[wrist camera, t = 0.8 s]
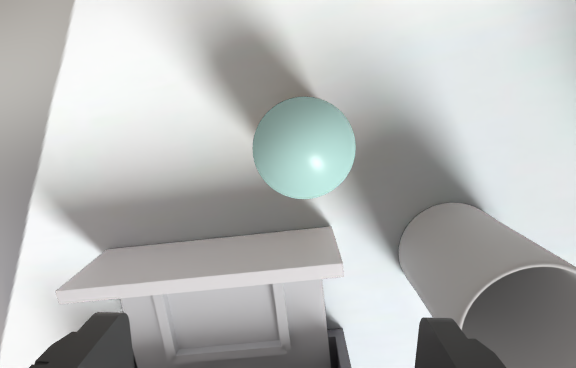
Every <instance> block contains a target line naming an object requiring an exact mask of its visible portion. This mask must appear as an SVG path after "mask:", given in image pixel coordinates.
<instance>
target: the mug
mask: <svg viewBox="0 0 576 368" xmlns="http://www.w3.org/2000/svg"><path fill="white" fill-rule="evenodd" d="M399 261H400V265H401V268H402V270H403V272H404V274H405V276H406V278H407V279H408V281H409V282H410V284H411V285H412V286H413V288H414V289H415V291H416V292H417V294H418V295H419V297H420V298H421V300H422V301H423V303H424V304H425V306H426V308H427V309H428V311H429V312H430V314H431V315H432V317H433V318H452V319H453V320H454V321H455V322H456V323H457V325H458V326H459V327H460V329H461V330H462V331H463V333H464V334H465V336H466V337H467V338H468V339H477V340H478V341H479V342H481V343H482V344H483V345H485V346H486V347H487V348H489V349H490V350H491V351H493V352H494V353H495V354H496V355H497V356H498V358H499V359H500V360H501V361H502V363H503V364H504V365H505V367H506V368H576V267H575V266H573V265H571V264H570V263H568V262H566V261H565V260H563V259H561V258H560V257H558V256H556V255H555V254H553V253H551V252H550V251H548V250H546V249H545V248H543V247H541V246H539V245H538V244H536V243H534V242H533V241H531V240H529V239H528V238H526V237H524V236H523V235H521V234H519V233H518V232H516V231H514V230H512V229H511V228H509V227H507V226H506V225H504V224H502V223H501V222H499V221H497V220H496V219H494V218H493V217H491V216H490V215H488V214H487V213H485V212H483V211H482V210H480V209H478V208H476V207H474V206H471V205H468V204H463V203H443V204H438V205H435V206H432V207H430V208H428V209H426V210H424V211H423V212H421V213H420V214H418V215H417V216H416V217H415V218H414V219H413V220H412V221H411V222H410V223H409V224H408V226H407V227H406V229H405V231H404V232H403V234H402V237H401V240H400V244H399Z"/></svg>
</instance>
